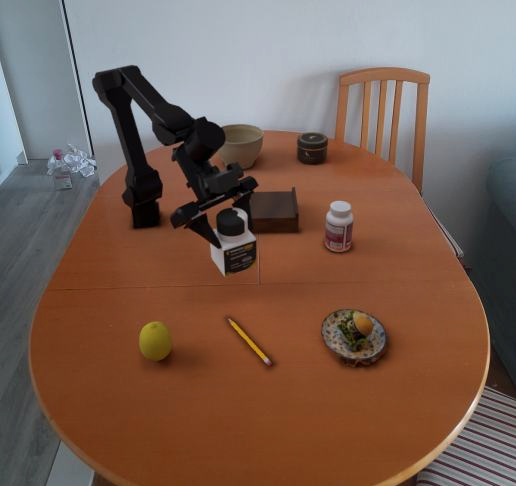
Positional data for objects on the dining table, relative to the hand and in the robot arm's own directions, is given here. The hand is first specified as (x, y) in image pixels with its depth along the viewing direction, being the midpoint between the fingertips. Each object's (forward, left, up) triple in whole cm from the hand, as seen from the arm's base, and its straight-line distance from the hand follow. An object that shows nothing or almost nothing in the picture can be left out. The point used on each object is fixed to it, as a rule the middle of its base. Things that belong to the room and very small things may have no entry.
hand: (236, 239), depth 87 cm
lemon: (-16, -14, -13) cm, 25 cm away
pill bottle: (+25, +12, -13) cm, 31 cm away
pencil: (0, -13, -14) cm, 19 cm away
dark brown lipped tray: (+12, +26, -13) cm, 31 cm away
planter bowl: (+7, +60, -13) cm, 62 cm away
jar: (+31, +59, -13) cm, 68 cm away
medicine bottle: (-1, +1, -7) cm, 7 cm away
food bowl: (+19, -16, -13) cm, 29 cm away
